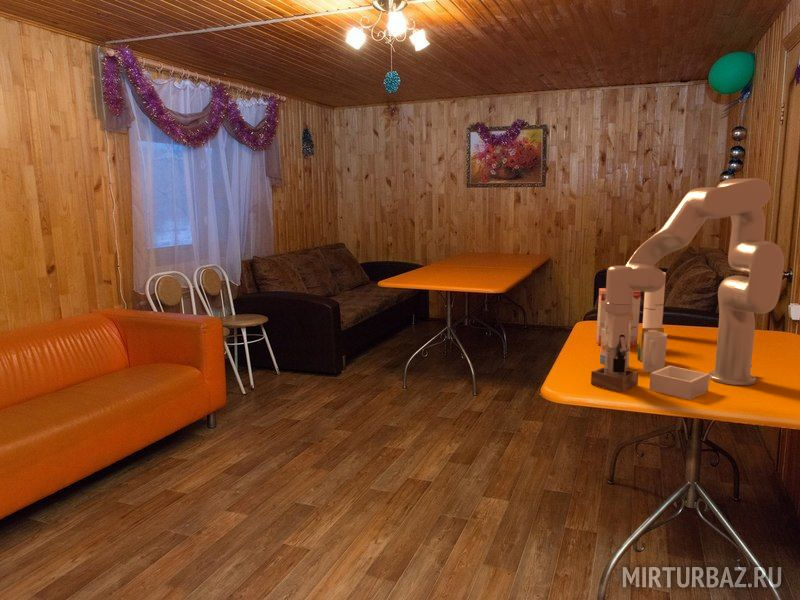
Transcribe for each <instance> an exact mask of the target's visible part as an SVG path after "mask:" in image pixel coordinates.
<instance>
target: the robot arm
mask: <svg viewBox="0 0 800 600" xmlns="http://www.w3.org/2000/svg"><path fill="white" fill-rule="evenodd" d="M771 197H772V188H771V185H770V184H769V182H767V181H766V180H764V179H762V178H755V177H752V178H751V177H750V178H749V177H748V178H741V177H740V178H729V179H725V180H722V181H721V182H719V184H717V186H716V187H713V186H711V187H709V186H708V187H706V186H705V187H696V188H693V189H690V190H689V191H688V192H687V193H686V194H685V195H684V197H683V198H681V201H680V202H679V204H678V205H677V206H676V208H675V209H674V210H673V212H672V213H671V215H670V216H669V218H668V219H667V221H666V222H665V224H663V226H662V227H661V228H660V230H658V231H657V232H656V233H654V234H653V235H652V236H650V238H648V239H647V240H646V241H644V242H643V243H642V244H640V246H638V248H637V249H636V250H635V252H634V253H633V254H632V256H631V257H630V258H629V260H628V261H627V263H626V264H625V265H612V266H611V265H610V266H609V267H608V268H607V270H606V281H605V282H606V283H605V284H606V285H605V288H606V302H605V313H606V319H605V328H604V339H603V340H604V343H605V344H606V340H608V347H610V348H611V349H614V352H615V358H613V372H624V371H625V358H626V356H625V355H626V351H627V348H628V345H629V323H630V322H629V316H630V315H632V310H633V293H634V291H640V292H641V293H642V292H643V293H645V292H655V291H658V290H660V289H661V288H662V287H663V286H664V284H665V285H666V280H667V279H666V277H665V275H664V273H663V272H664V271H663V270H661V268H658V267H657V266H655V265H656V263H658V261H660V260H661V259H662V258H664V257H665V256H666V255H669V254H672V253H673V252H676V251H679V250H681V249H683V248H685V247H686V246H689V244H690V243H691V241H692V240H693V239H694V237H695V236H696V235H697V234H698V232H699V230H700V229H701V227H702V226H703V224H704V223H705V221H706V220H707V219H722V218H723V219H724V218H727V217H730V219H731V220H730V221H731V233H730V239H729V247H728V253H727V256H728V257H727V262H728V264H729V266H730V267H731V268H732V269H733V270H735V271H739V272H743V273H747V274H748V276H745V275H730V276H727V277H726V278H724V279H723V280H722V281H721V282H720V284H719V286H718V290H717V301H718V307H719V309H718V312H719V315H718V316H719V317H718V318H719V319H718V330H717V341H716V349H715V350H716V353H715V361H714V363H715V364H714V370H710V371H709V372H708V374H709V380H712V381H714V382H718V383H722V384H725V385H731V386H750V385H754V384H755V383H756V381H757V378H756V377H755V376H754V375H752V374H751V370H752V367H753V364H752V361H753V360H752V359H753V351H754V350H753V349H754V340H755V332H756V331H755V330H756V319H755V318H756V317H755V314H757V315H758V314H760V315H761V314H768V313H770V312H771V311H772V310H773V309H775V307H776V305H777V304H778V302H779V299H780V295H781V294H780V293H781V289H782V282H783V281H782V280H783V277H784V269H785V255H784V252H783V250H782V248H781V247H780V246H779V245H778V244H777V243H774V242H772V241H768V240H765V234H766V233H765V232H766V216H765V213H764V211H763V209H762V208H764V206H766V205H767V204H768V202H769V201H770V200H771ZM617 346H620V348H617ZM617 350H620V351H619V352H618V353H617Z"/></svg>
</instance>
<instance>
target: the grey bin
mask: <svg viewBox="0 0 800 600" xmlns="http://www.w3.org/2000/svg"><path fill="white" fill-rule="evenodd" d="M709 383H710V378H709V373H706V372H701V371H696V370H692V369H686V368H682V367H679V366H673V365H667V366H664V368H662V369H660V370H657V371H655V372H652V373H650V374H649V387H648V388H649V389H648V390H649V391H651V392H652V391H653V392H656V393H661V394H665V395H669V396H672V397H676V398H679V399H685V400H687V401H691V400H692V399H693V400H694V399H695V398H696V397H698V396H701V395H703V394H704V392H705V393H706V391H707V392H708V391H709ZM702 393H703V394H702ZM700 394H701V395H700Z"/></svg>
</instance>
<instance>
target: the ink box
mask: <svg viewBox="0 0 800 600" xmlns="http://www.w3.org/2000/svg"><path fill="white" fill-rule="evenodd" d="M630 331H631V324H630V323H629V345H628V348H627V364H626V369H627V368H629V367H630V366H629V365H630V364H629V363H630V349H631V346H630V336H631V333H630ZM603 339H604V329H602V334H601V345H600V351H599V353H600V354H599V355H600V356H599V363H600V364H602V363H603V365H605V350H606V344H605V343H604V340H603Z"/></svg>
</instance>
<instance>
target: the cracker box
mask: <svg viewBox="0 0 800 600" xmlns="http://www.w3.org/2000/svg"><path fill="white" fill-rule="evenodd" d="M641 295H642V291H634V293H633V310H632V315H630V316H629V322H630V324H631V331H630V333H631V336H630V347H638V340H639V324H640V312H641V299H642V298H641ZM605 302H606V287H603V288H602V287H601V288H598V306H597V307H598V309H597V320H596V334H595V335H596V338H595V342H596V344H597V346H601V334H602V329H604V328H605V319H606V313H605Z"/></svg>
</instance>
